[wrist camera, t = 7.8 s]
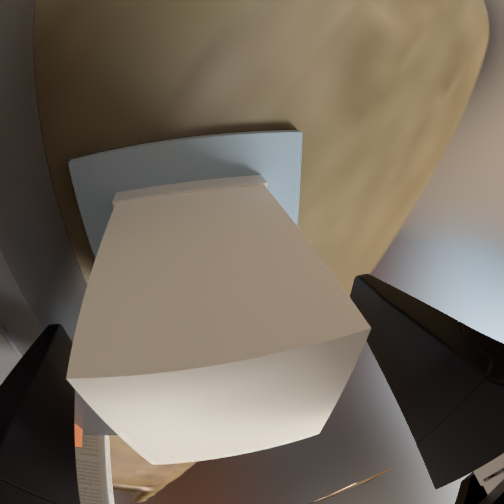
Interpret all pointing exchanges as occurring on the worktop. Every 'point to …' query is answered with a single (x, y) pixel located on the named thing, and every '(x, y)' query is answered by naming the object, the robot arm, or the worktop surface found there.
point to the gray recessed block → (32, 217)
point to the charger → (211, 324)
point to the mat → (186, 170)
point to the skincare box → (94, 470)
